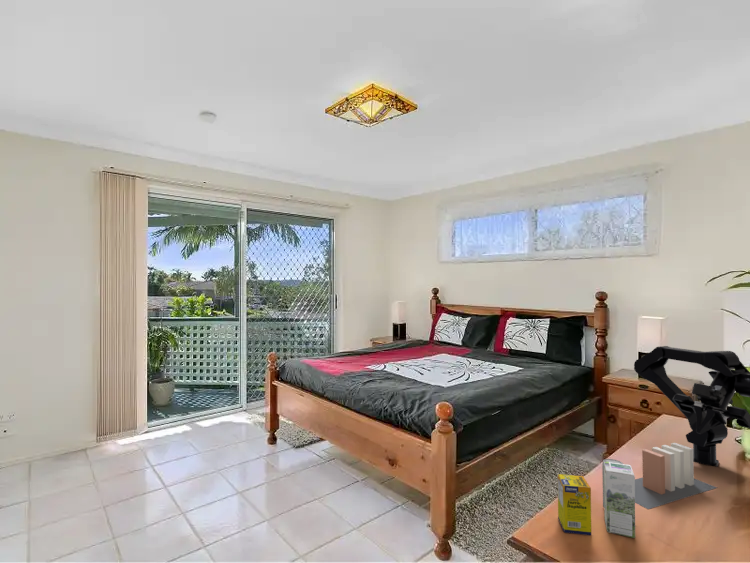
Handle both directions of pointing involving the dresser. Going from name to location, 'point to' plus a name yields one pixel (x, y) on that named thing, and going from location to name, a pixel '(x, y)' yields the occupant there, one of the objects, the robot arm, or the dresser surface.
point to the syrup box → (619, 499)
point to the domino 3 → (687, 463)
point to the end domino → (653, 471)
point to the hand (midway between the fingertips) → (698, 432)
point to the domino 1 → (668, 468)
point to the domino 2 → (677, 465)
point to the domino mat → (667, 493)
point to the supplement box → (574, 504)
